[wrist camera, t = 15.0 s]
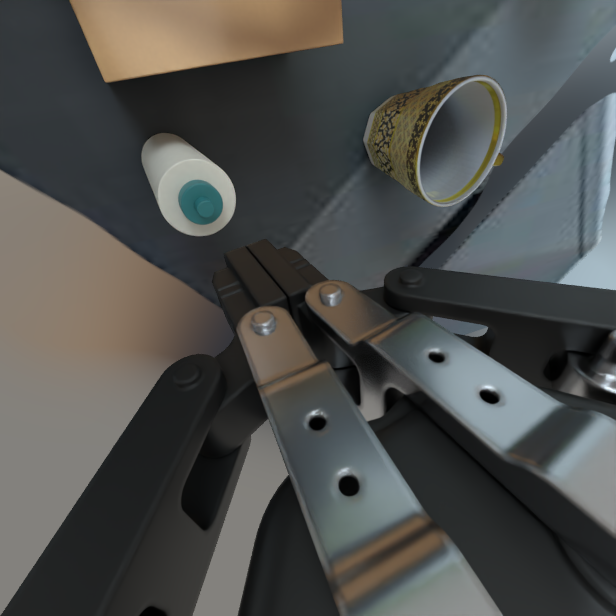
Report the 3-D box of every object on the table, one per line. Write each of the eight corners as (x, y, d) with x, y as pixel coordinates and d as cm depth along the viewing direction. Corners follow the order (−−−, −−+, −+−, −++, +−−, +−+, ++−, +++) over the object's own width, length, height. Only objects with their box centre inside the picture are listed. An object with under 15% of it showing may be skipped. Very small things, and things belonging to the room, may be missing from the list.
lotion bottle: (154, 193, 27) (181, 258, 17) (131, 139, 24) (146, 178, 14) (202, 180, 28) (253, 234, 18) (185, 127, 26) (233, 156, 16)
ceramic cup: (338, 175, 34) (400, 200, 27) (367, 62, 29) (451, 55, 22) (421, 191, 41) (489, 214, 33) (455, 100, 36) (543, 104, 29)
